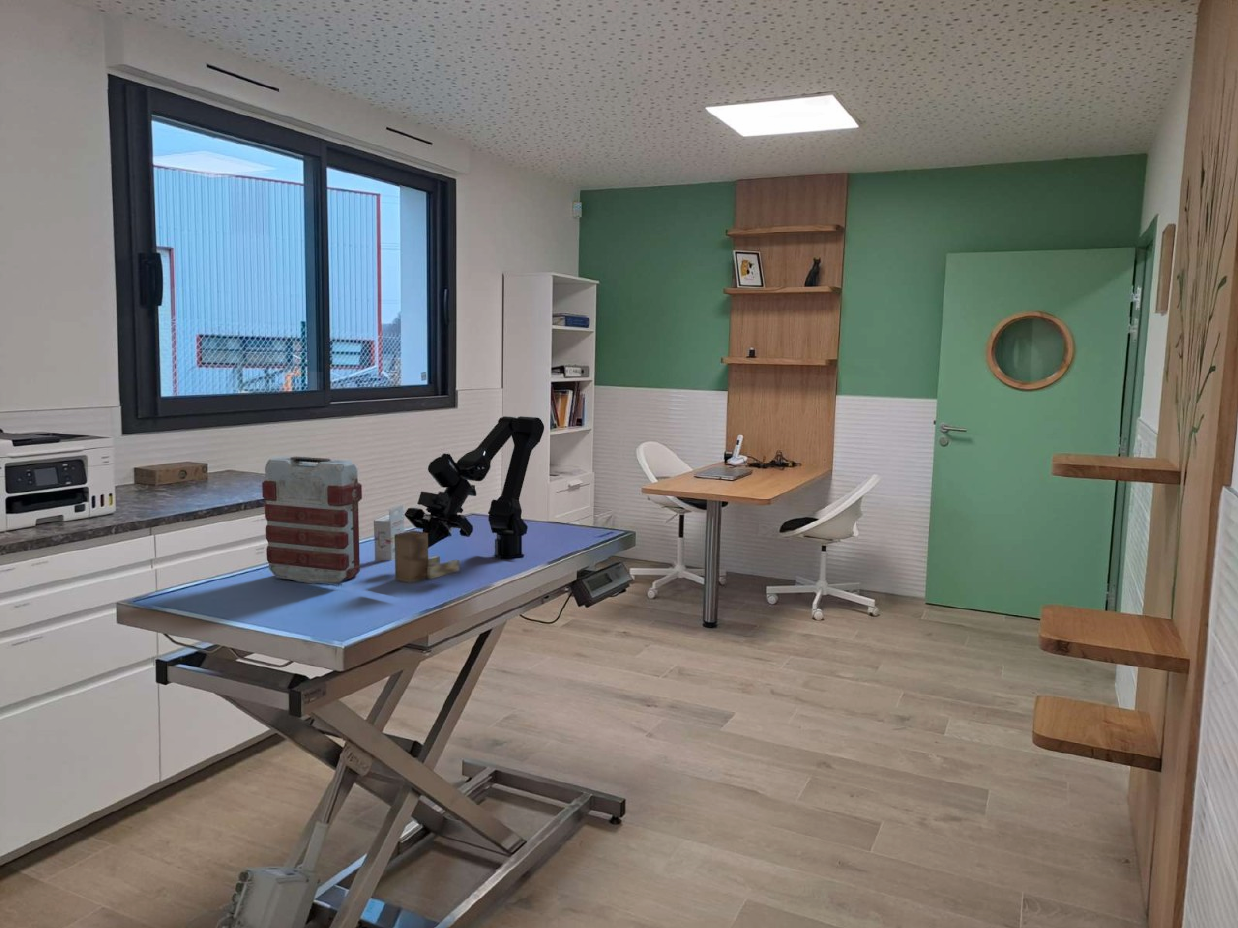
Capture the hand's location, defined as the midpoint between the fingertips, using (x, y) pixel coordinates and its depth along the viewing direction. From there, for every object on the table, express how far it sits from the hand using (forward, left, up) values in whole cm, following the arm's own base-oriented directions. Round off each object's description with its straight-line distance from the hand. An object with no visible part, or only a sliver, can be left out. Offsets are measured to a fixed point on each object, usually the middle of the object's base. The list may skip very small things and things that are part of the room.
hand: (421, 549), depth 219 cm
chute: (-2, -1, -8) cm, 8 cm away
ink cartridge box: (+2, -24, -8) cm, 25 cm away
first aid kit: (+23, -12, -8) cm, 27 cm away
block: (+3, +2, -6) cm, 7 cm away
